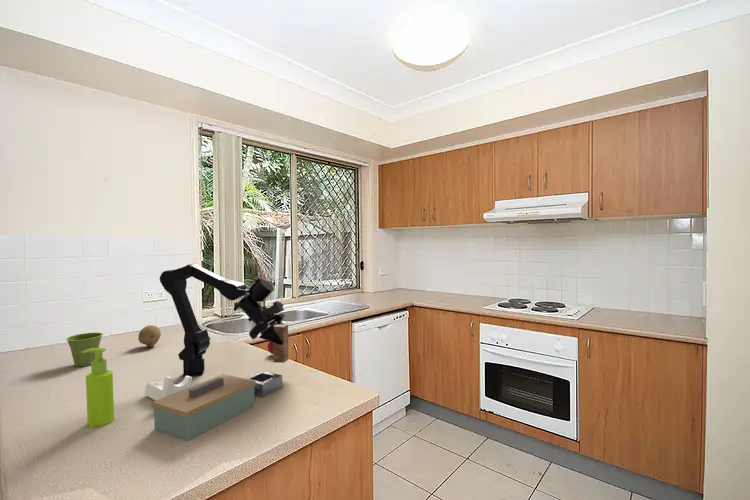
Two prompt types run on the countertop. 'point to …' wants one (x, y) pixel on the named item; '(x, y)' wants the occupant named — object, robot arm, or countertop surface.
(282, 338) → the walnut key
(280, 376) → the grey shallow box
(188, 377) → the bracket
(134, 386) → the countertop surface
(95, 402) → the soap dispenser
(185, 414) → the toolbox
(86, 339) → the plant pot
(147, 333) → the potato
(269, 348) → the onion
